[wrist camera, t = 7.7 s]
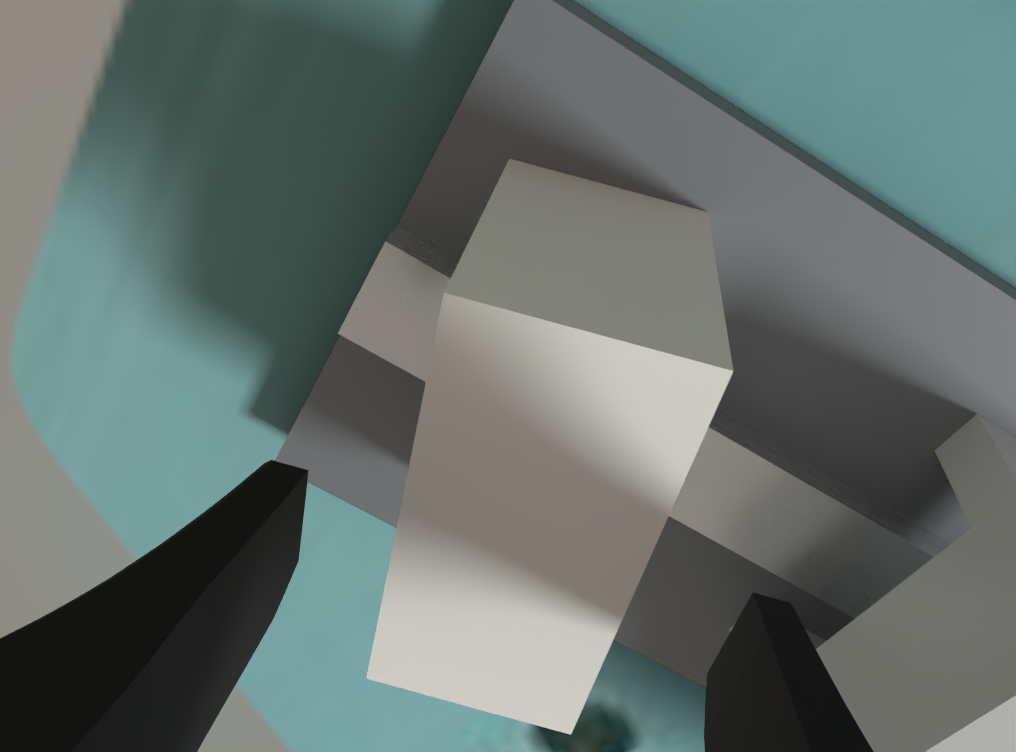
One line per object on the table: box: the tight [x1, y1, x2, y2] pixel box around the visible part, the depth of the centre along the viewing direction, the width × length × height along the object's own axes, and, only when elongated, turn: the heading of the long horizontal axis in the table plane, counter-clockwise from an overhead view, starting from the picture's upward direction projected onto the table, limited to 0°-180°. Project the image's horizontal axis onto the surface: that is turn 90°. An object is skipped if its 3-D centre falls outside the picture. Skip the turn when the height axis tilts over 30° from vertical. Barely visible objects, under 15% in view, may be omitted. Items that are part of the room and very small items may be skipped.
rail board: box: [275, 0, 1016, 752], centre depth 17 cm, size 17×13×7 cm
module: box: [366, 159, 733, 735], centre depth 16 cm, size 4×9×6 cm, turn 167°
